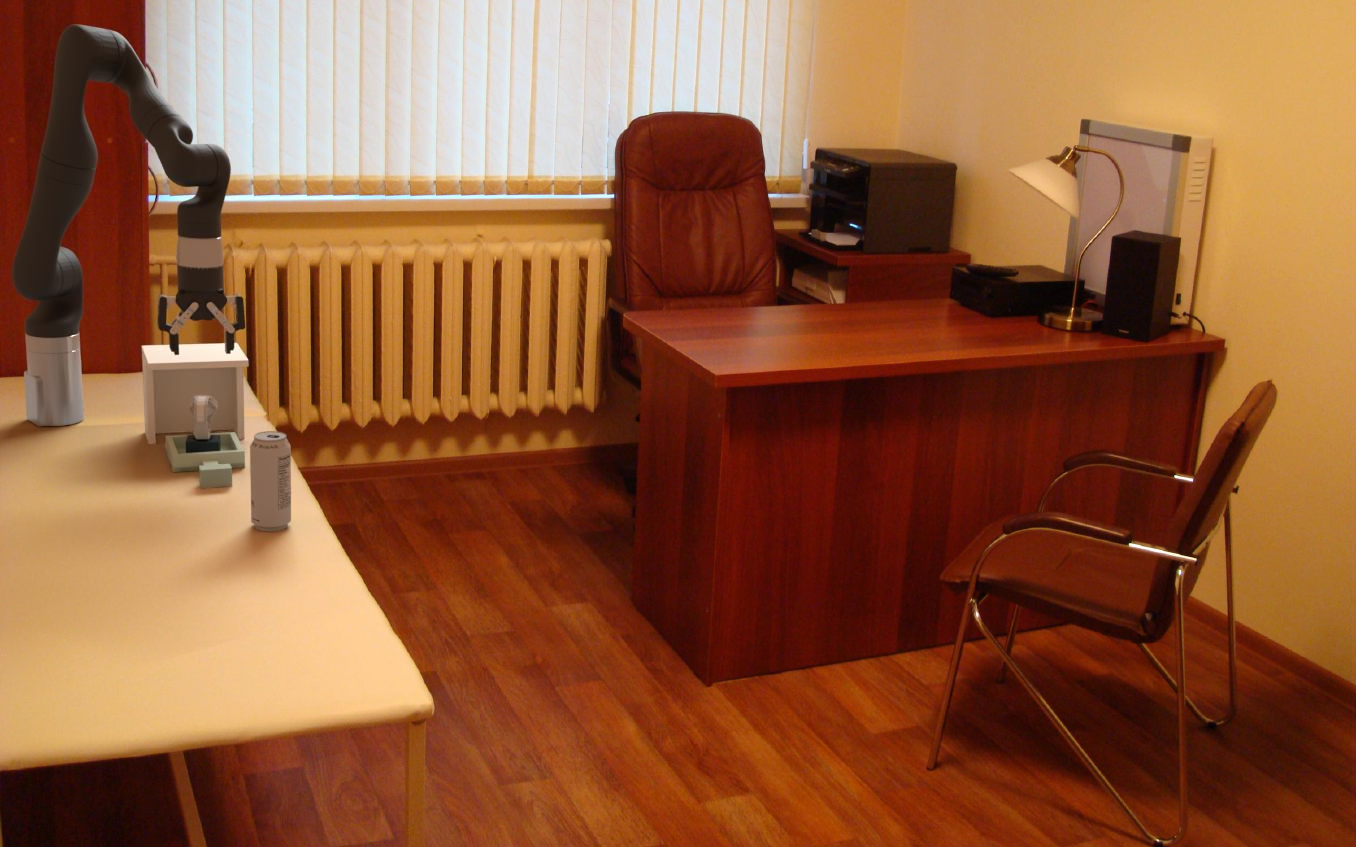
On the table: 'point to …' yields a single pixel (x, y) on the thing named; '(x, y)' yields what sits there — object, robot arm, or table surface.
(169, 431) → the white side table
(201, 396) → the watch
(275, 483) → the energy drink can
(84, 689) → the table surface
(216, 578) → the table surface
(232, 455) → the tray
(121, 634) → the table surface
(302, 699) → the table surface
